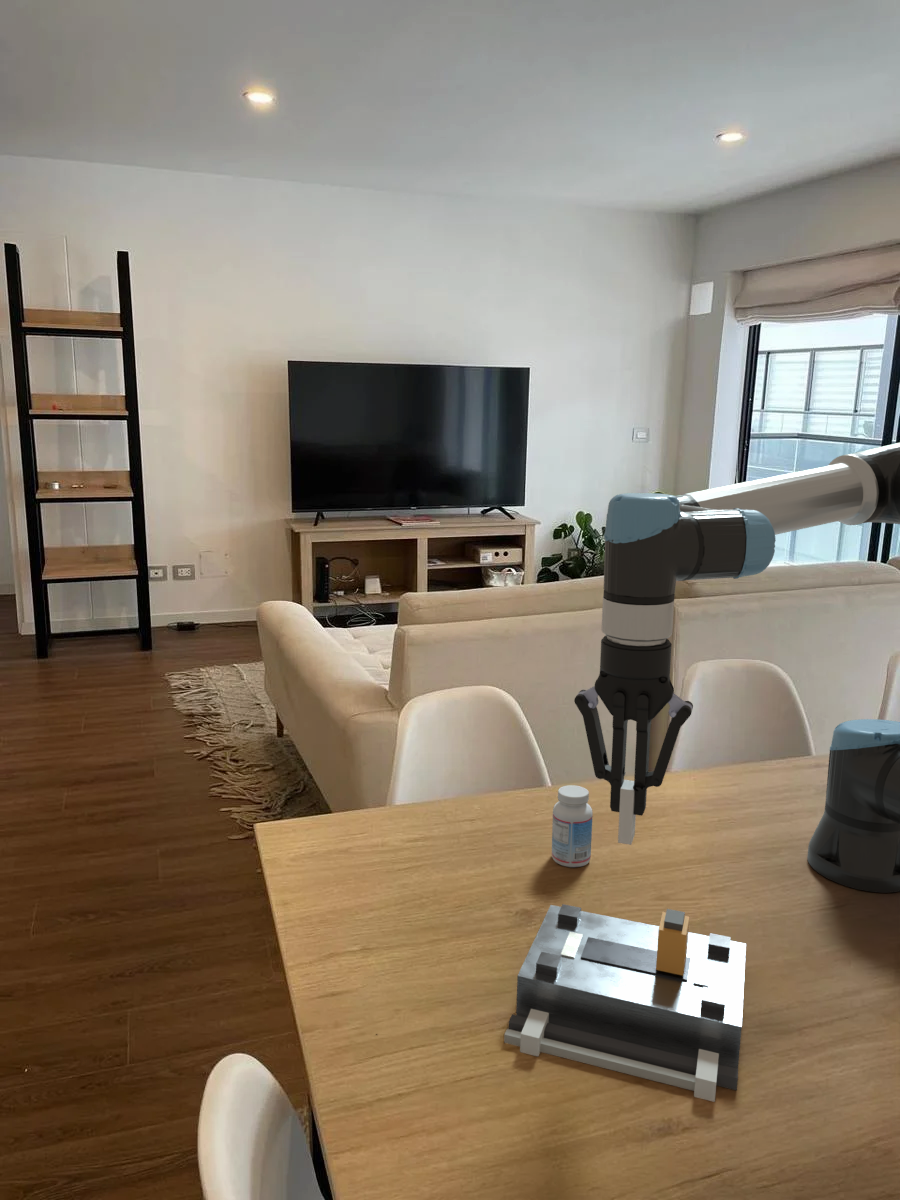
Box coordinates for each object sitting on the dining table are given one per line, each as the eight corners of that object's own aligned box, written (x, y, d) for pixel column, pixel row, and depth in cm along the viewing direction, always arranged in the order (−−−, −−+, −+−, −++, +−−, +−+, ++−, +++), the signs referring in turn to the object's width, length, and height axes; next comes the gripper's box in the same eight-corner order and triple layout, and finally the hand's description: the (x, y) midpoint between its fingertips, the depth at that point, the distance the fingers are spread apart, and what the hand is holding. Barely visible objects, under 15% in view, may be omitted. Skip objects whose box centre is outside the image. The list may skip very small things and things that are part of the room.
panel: (742, 980, 107) (746, 934, 106) (738, 1069, 92) (742, 1016, 91) (549, 939, 115) (551, 896, 114) (516, 1015, 100) (517, 966, 99)
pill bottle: (589, 851, 139) (592, 784, 137) (591, 870, 133) (595, 800, 131) (550, 848, 140) (553, 781, 138) (551, 867, 134) (554, 798, 132)
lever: (686, 955, 102) (689, 910, 101) (683, 975, 99) (686, 928, 98) (660, 950, 103) (663, 905, 102) (655, 969, 100) (659, 923, 99)
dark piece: (743, 962, 111) (745, 946, 110) (735, 1107, 87) (737, 1087, 87) (556, 924, 118) (556, 909, 118) (502, 1047, 95) (502, 1029, 94)
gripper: (701, 634, 97) (688, 833, 102) (583, 624, 101) (576, 816, 106) (695, 650, 90) (682, 863, 95) (569, 639, 94) (562, 843, 99)
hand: (626, 838), depth 100 cm, fingers closed
